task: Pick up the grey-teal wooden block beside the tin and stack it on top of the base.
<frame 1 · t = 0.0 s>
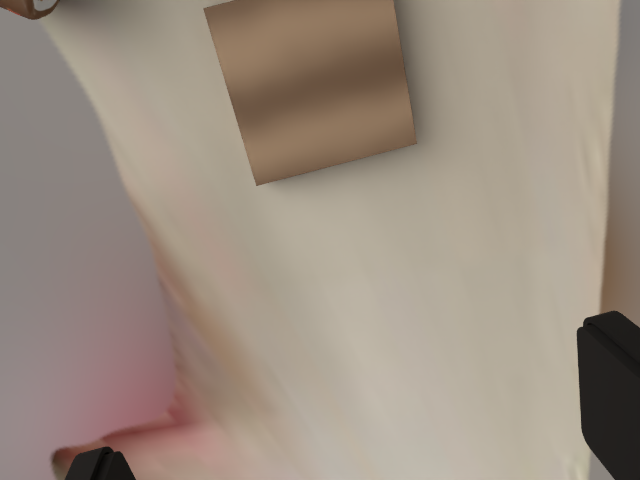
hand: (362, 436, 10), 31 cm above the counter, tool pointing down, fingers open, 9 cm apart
base: (313, 77, 38), on the counter
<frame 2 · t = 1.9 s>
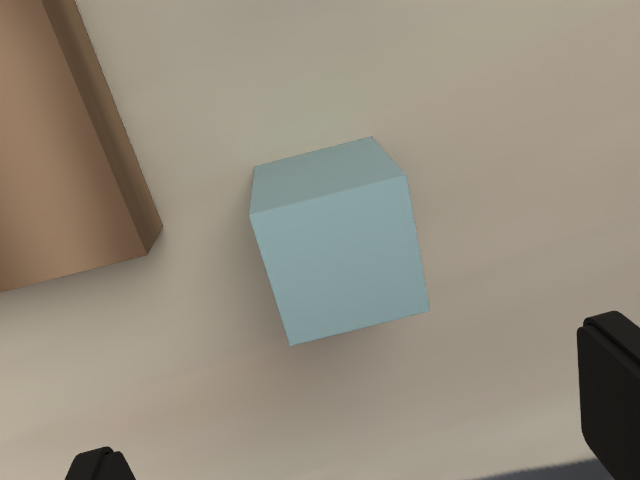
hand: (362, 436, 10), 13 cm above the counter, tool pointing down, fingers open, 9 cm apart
block: (326, 206, 22), on the counter
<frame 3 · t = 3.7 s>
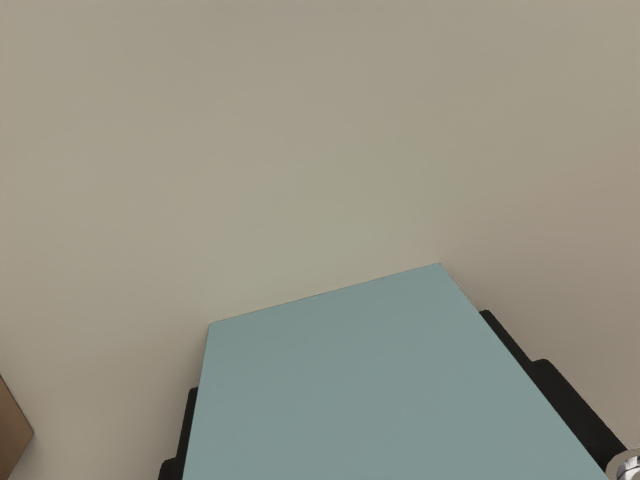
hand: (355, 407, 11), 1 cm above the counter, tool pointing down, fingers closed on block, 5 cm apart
block: (349, 386, 12), on the counter, touching gripper
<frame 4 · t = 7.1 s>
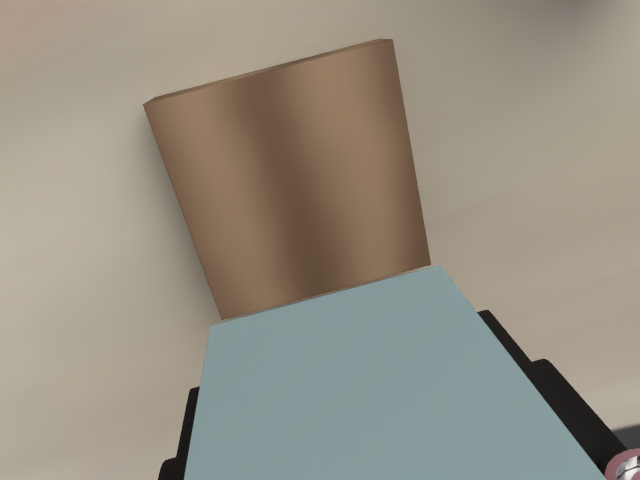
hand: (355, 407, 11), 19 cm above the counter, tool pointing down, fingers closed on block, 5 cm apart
base: (296, 176, 29), on the counter
block: (350, 388, 12), point 19 cm above the counter, touching gripper
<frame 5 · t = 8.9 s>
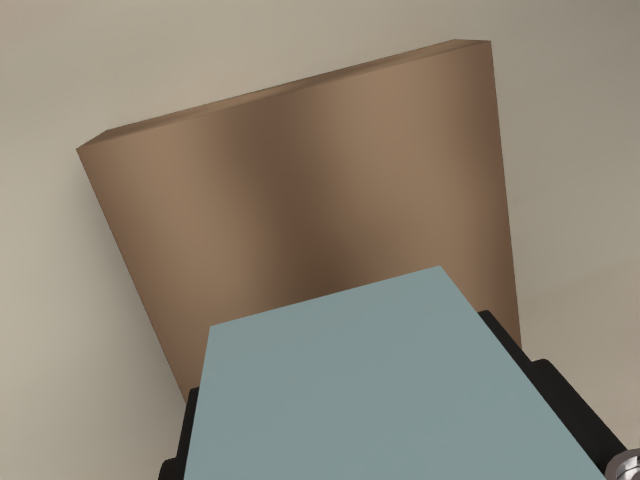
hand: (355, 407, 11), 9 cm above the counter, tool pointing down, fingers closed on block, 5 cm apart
base: (322, 244, 19), on the counter
block: (350, 388, 12), point 8 cm above the counter, touching gripper
when the fingers open (5 cm above the counter, at t = 10.6 s): block stays where it is, resting on base.
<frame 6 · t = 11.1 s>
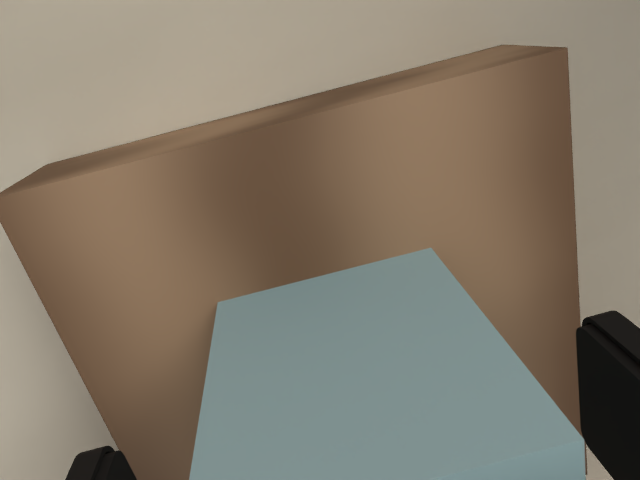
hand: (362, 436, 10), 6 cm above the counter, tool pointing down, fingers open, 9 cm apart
base: (329, 303, 15), on the counter
block: (347, 363, 13), point 3 cm above the counter, touching base
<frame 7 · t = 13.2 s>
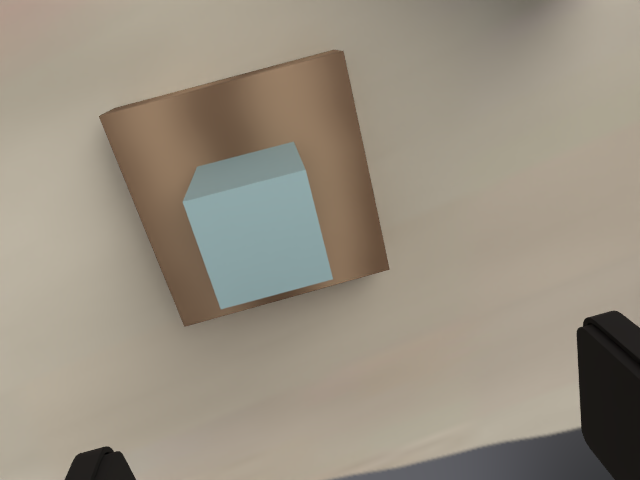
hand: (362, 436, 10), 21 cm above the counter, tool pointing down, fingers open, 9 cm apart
base: (256, 184, 29), on the counter
block: (259, 200, 27), point 3 cm above the counter, touching base
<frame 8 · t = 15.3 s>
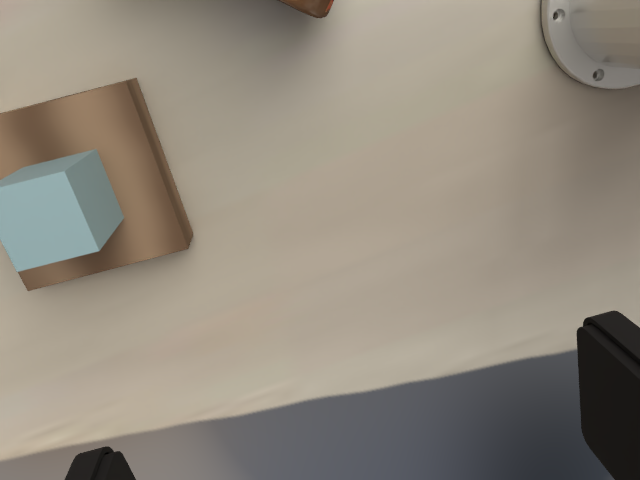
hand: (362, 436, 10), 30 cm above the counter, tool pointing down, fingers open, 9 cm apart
base: (87, 181, 38), on the counter
block: (74, 193, 35), point 3 cm above the counter, touching base
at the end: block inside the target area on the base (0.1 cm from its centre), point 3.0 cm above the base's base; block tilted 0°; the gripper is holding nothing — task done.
